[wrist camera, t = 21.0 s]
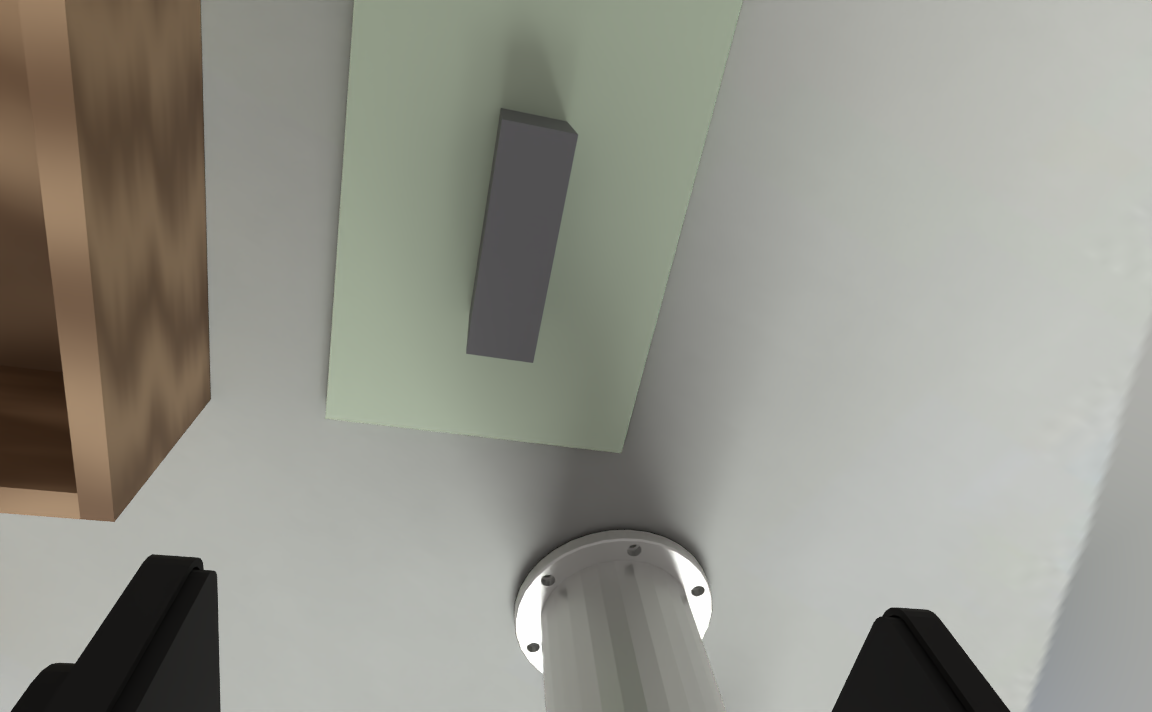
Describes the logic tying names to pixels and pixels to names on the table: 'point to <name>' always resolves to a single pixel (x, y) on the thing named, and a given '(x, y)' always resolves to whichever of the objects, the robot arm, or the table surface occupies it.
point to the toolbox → (99, 249)
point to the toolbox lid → (515, 208)
